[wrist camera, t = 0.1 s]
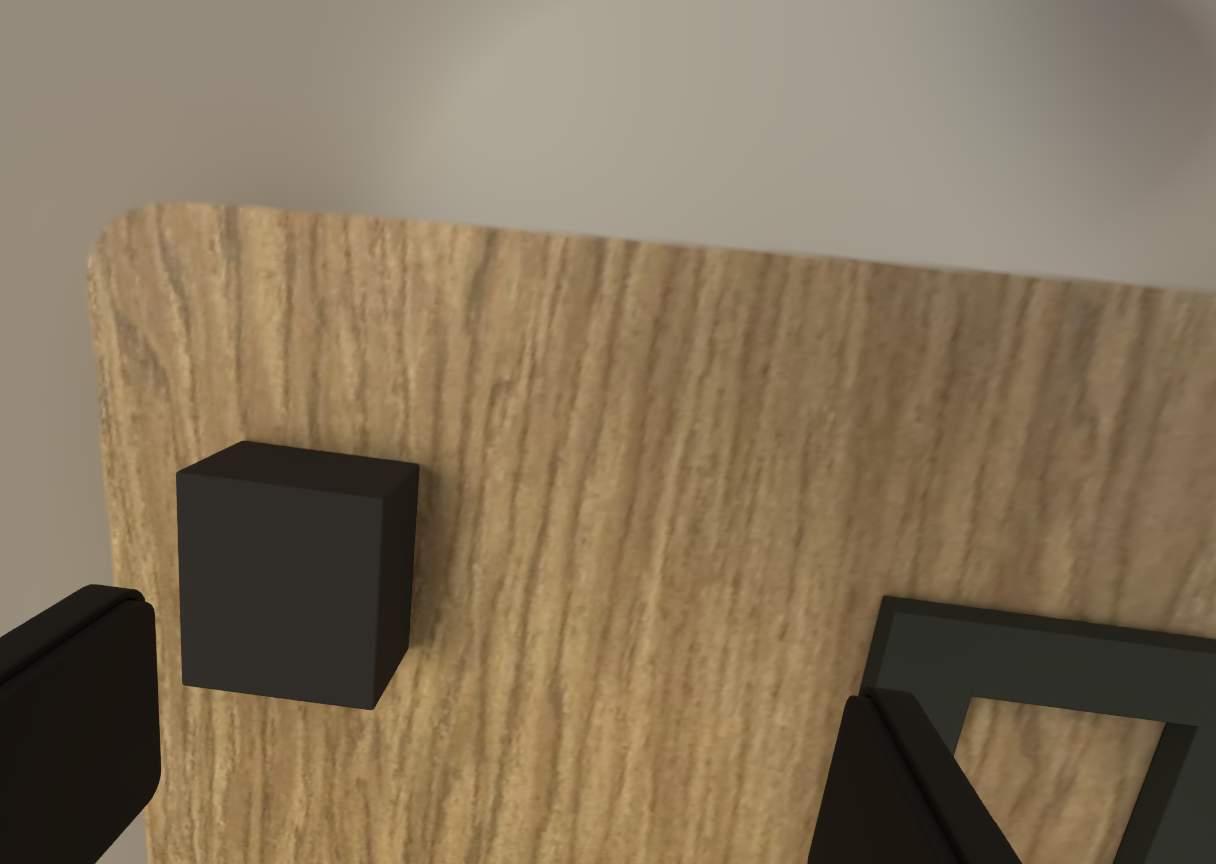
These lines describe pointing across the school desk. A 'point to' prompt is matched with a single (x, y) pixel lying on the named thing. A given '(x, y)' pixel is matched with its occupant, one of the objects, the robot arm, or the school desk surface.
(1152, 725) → the school desk surface
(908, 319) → the school desk surface
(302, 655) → the black block
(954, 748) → the frame pad
